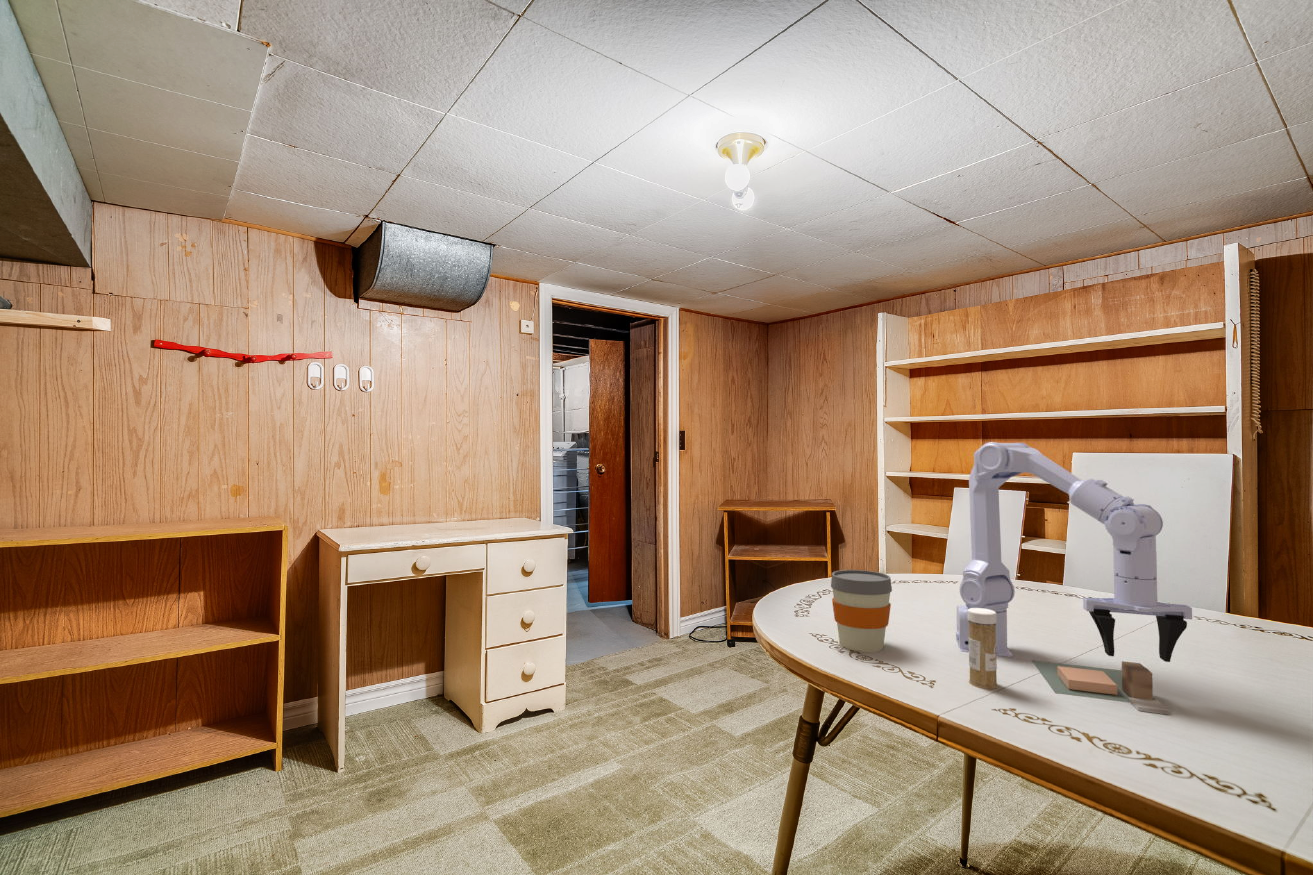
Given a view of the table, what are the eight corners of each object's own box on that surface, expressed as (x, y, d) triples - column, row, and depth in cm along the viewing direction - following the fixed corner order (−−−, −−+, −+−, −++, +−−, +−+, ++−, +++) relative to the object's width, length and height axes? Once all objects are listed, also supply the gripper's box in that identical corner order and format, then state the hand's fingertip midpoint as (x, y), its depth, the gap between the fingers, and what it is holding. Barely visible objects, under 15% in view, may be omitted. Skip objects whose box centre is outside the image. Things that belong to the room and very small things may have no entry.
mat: (1055, 695, 102) (1055, 692, 102) (1031, 662, 117) (1031, 660, 117) (1163, 708, 96) (1163, 706, 96) (1123, 672, 112) (1123, 670, 112)
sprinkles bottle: (1000, 692, 103) (999, 614, 103) (971, 689, 104) (970, 612, 104) (994, 682, 107) (993, 607, 107) (966, 679, 108) (965, 605, 109)
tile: (1057, 675, 109) (1068, 690, 103) (1057, 666, 109) (1068, 679, 103) (1103, 681, 107) (1117, 696, 100) (1102, 671, 107) (1117, 685, 100)
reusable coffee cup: (892, 658, 120) (891, 583, 120) (828, 650, 124) (827, 578, 125) (892, 640, 131) (891, 572, 132) (833, 633, 136) (833, 567, 136)
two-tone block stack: (1117, 689, 103) (1116, 660, 103) (1145, 692, 102) (1144, 663, 102) (1138, 710, 95) (1137, 679, 95) (1169, 714, 93) (1168, 682, 93)
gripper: (1091, 577, 99) (1093, 659, 99) (1200, 584, 94) (1203, 670, 94) (1078, 570, 106) (1080, 646, 105) (1179, 576, 101) (1181, 656, 100)
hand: (1136, 657), depth 100 cm, fingers open, 7 cm apart
